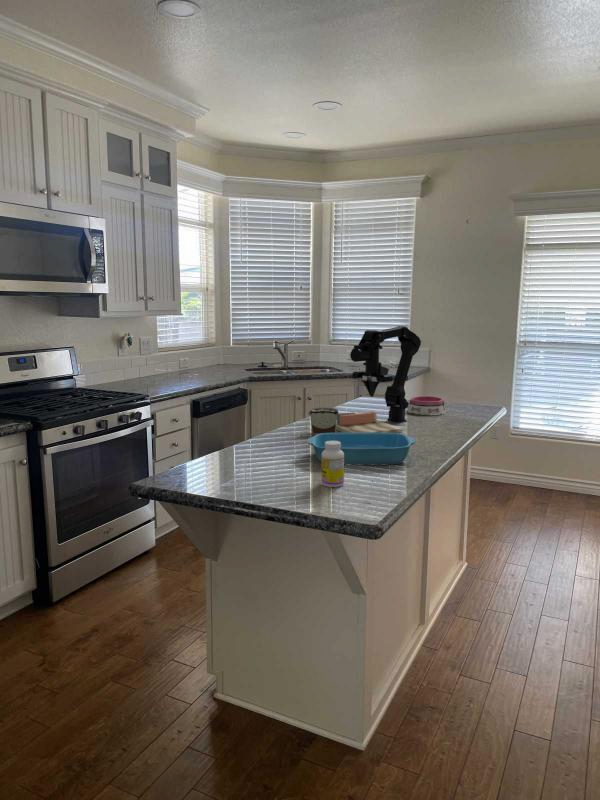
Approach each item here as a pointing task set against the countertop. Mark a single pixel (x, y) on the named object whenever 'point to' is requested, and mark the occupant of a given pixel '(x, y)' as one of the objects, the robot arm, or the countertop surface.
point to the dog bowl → (426, 405)
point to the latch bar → (357, 418)
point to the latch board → (367, 427)
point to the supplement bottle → (332, 465)
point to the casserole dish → (366, 447)
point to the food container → (323, 420)
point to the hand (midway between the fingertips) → (371, 396)
